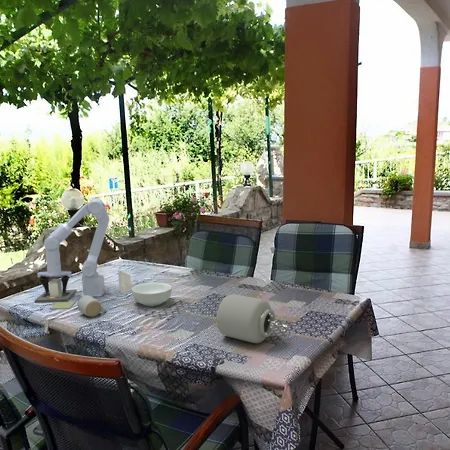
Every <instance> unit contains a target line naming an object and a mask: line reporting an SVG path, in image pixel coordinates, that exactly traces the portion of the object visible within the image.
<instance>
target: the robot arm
mask: <svg viewBox="0 0 450 450" xmlns="http://www.w3.org/2000/svg"><path fill="white" fill-rule="evenodd" d="M90 215H93V216H94V218H95V219H96V220H97V226H96V229H95V232H94V235H93V238H92V242H91V244H90V248H89V252H88V256H87V258H86V260H85V261H84V262H83V264H82V266H81V274H82V275H81V283H82V294H80V298H82V297H83V296H86V295H89V296H92V297H93V298H95V297H96V298H98V297H102V296H103V295H104V293H105V292H106V290H105V289H106V286H105V278H104V275H102V274H99V273H98V272H97V269H98V259H99V255H100V252H101V249H102V246H103V243H104V239H105V236H106V233H107V229H108V227H109V222H110V216H109V214H108V210H107V207H106V203H104V202H103V201H102V199H100V198H98V197H94V198H91V200H90V201H89V202H87V203H85V204H84V205H83V206H82V207H80V208H79V210H78V211H77V212H76V213H75V214H73V216H72V217H70V219H69V220H68V221H67V222H65V223H60V224H58V225H57V226H56V227H57V228H56V229H55V230H54V231H53V232H51V233H50V234H49V236H48V237H47V238H45V240H44V243H43V245H44V248H45V260H46V271H39V272H37V278H39V282H40V283H41V285H42V286H43V288H44V292H45V291H46V293H48V292H49V290H50V288H49V282H50V280H49V277H51V278H52V277H53V278H58V277H61V278H60V279H61V286H62V290H63V293H65V292H66V290H67V286H68V283H69V280H70V278H71V276H72V271H69V270H68V271H66V270H62V267H61V266H62V264H61V255H60V248H59V246H60V244H61V243H63V241H65V240H66V239H67V238H68V236H70V235H71V234H72V231H73V230H72V229H73V227H75V225H77V223H79V222H80V221H81V220H82V219H83V218H84V217H87V216H90Z"/></svg>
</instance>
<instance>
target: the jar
mask: <svg viewBox="0 0 450 450" xmlns="http://www.w3.org/2000/svg"><path fill="white" fill-rule="evenodd" d="M275 325H278V323H276V314H275V311H274V310H273V309H272V307H271V305H270V303H269V302H268V301H267V300H264V299H262V298H256V297H252V296H251V297H250V296H246V295H240V294H235V293H231V294H228V295H226V296H225V297H224V298H223V299H221V302H220V304H219V305H218V308H217V312H216V326H217V329H218V331H219V332H220V334H221V335H222V336H224V337H228V338H232V339H236V340H240V341H244V342H247V343H251V344H259V343H262V342H263V341H265V339H266V338H268V337H270V336H271V335H272V334H273V332H274V330H275ZM282 326H283V327H285V328H287V327H288V325H285V324H282ZM281 331H284V332H285V331H286V329H283V330H282V329H281Z"/></svg>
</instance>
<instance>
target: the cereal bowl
mask: <svg viewBox="0 0 450 450" xmlns="http://www.w3.org/2000/svg"><path fill="white" fill-rule="evenodd" d="M172 290H173V289H172V286H171V285H170V284H168V283H166V282H146V283H145V282H144V283H141V284H137V285H134V287H133V288H132V290H131V293H132V294H131V295H132V298H133V299H134V301H135V302H137V303H139V304H142V305H143V306H146V307H157V306H159V305H161V304H162V303H165V302H167V301H168V300H169V299H170V297H171V295H172Z"/></svg>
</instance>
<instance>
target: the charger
mask: <svg viewBox="0 0 450 450" xmlns="http://www.w3.org/2000/svg"><path fill="white" fill-rule="evenodd" d="M49 290H50V295H49V297H63V295H62V290H63V286H62V281H61V278H52V279H51V280H49Z"/></svg>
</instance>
